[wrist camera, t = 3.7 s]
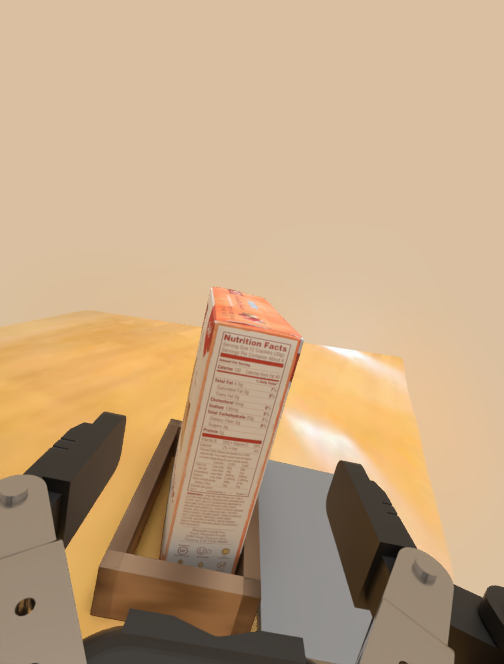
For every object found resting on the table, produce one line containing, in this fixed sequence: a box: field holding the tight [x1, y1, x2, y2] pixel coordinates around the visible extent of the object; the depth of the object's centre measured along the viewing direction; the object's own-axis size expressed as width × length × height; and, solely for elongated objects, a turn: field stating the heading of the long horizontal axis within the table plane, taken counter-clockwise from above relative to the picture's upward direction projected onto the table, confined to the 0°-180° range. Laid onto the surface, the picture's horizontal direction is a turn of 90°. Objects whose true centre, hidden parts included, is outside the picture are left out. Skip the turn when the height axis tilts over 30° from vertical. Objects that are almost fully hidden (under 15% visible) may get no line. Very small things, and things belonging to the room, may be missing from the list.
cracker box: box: [159, 287, 304, 575], centre depth 28 cm, size 14×6×21 cm, turn 8°
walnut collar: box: [90, 419, 261, 637], centre depth 30 cm, size 10×18×4 cm, turn 0°
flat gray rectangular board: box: [257, 460, 372, 664], centre depth 31 cm, size 10×20×1 cm, turn 0°
